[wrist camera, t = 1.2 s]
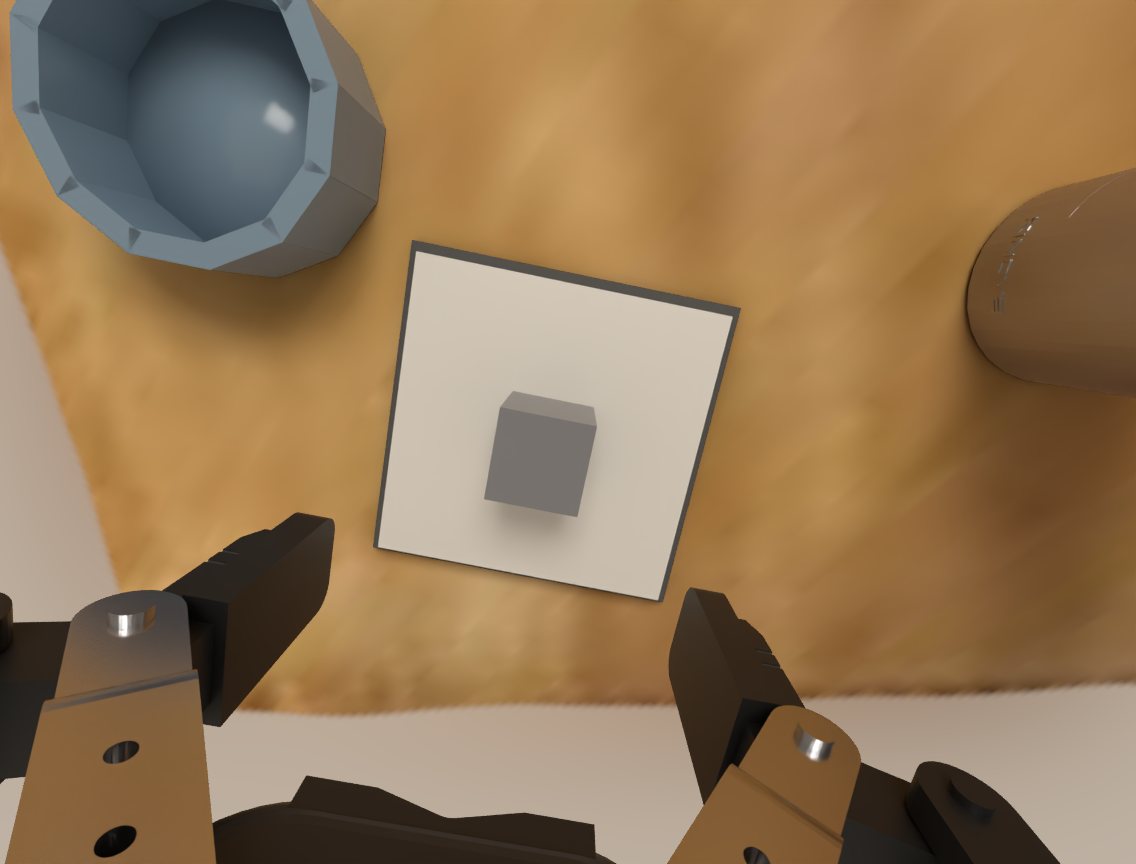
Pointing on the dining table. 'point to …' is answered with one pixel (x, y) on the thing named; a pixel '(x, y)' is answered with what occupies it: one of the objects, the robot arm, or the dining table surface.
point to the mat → (579, 281)
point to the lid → (546, 425)
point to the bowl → (201, 126)
